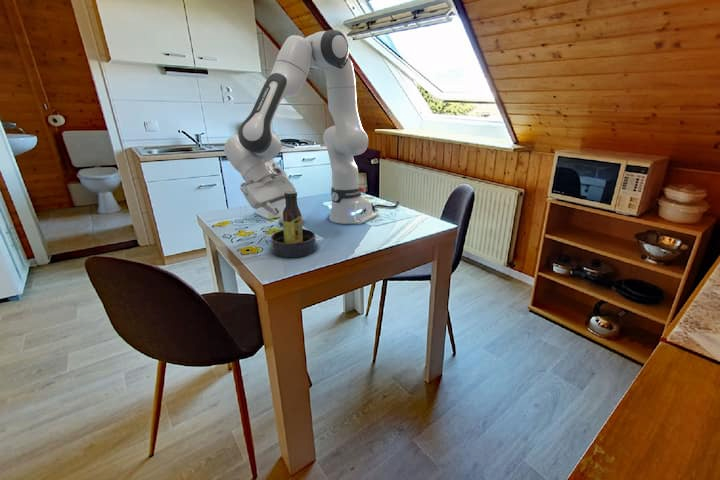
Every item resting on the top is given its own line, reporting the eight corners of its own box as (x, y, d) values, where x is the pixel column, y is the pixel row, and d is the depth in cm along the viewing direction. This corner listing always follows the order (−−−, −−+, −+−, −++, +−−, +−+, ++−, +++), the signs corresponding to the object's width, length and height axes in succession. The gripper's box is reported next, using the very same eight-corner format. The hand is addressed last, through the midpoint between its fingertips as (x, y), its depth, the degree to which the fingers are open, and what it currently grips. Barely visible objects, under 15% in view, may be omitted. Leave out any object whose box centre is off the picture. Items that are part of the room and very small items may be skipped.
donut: (304, 219, 151) (281, 219, 150) (304, 212, 150) (280, 211, 149) (302, 227, 142) (278, 227, 141) (302, 219, 140) (277, 219, 140)
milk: (255, 213, 159) (249, 155, 149) (278, 208, 166) (273, 153, 156) (268, 219, 150) (262, 158, 141) (291, 214, 158) (287, 156, 148)
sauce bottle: (299, 252, 116) (295, 195, 109) (281, 251, 117) (277, 194, 110) (306, 245, 122) (302, 190, 115) (289, 244, 123) (285, 189, 116)
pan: (298, 238, 129) (298, 225, 128) (324, 249, 120) (323, 235, 118) (263, 249, 119) (262, 235, 118) (288, 262, 110) (287, 247, 108)
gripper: (241, 178, 105) (270, 213, 105) (283, 168, 123) (307, 198, 122) (232, 190, 109) (260, 224, 109) (274, 179, 126) (298, 208, 126)
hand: (285, 210), depth 116 cm, fingers open, 8 cm apart
